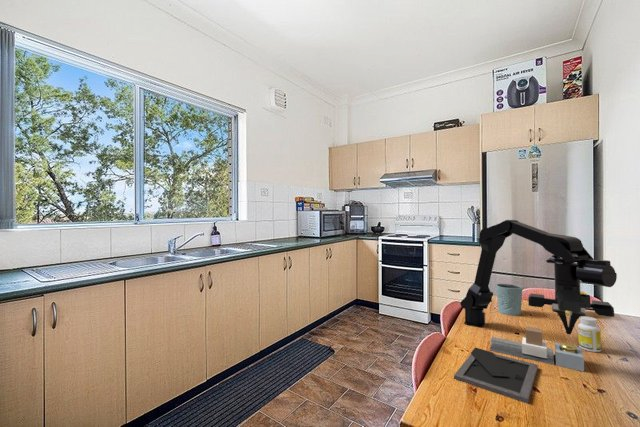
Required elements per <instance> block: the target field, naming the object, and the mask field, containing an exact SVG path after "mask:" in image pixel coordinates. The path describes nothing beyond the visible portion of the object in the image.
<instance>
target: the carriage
mask: <svg viewBox="0 0 640 427" xmlns="http://www.w3.org/2000/svg"><path fill="white" fill-rule="evenodd" d="M521 340H522V341H521V343H522V353H524V354H528V355H533V356H538V357H542V358H547V348H548V346H547V341H546V340H545V341H544V340H543V328H539V327H532V326H526V327H525V336H522V339H521Z"/></svg>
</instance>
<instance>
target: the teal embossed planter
mask: <svg viewBox="0 0 640 427" xmlns="http://www.w3.org/2000/svg"><path fill="white" fill-rule="evenodd" d="M495 288H496V298H497V309H498V312H499V313H500V314H502V315H505V314H506V316H512V317H516V316H518V315H519V316H521V315H522V304H523V303H522V302H523V299H522V298H523V290H524V288H523V286H521V285H518V284H511V283H510V284H509V283H496V284H495Z"/></svg>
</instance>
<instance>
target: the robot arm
mask: <svg viewBox="0 0 640 427" xmlns="http://www.w3.org/2000/svg"><path fill="white" fill-rule="evenodd" d="M513 234H514V235H516V236H518V237H520V238H523V239H526V240H529V241H530V242H534V243H535V244H537V245H539V246H542V247H543V249H544V250H545V251H547V252H548V253H550V254H551V255H552V256H550V258H548V259H546V260H545V262H546V263H548V264H554V265H553V267H554V268H553V269H554V270H553V271H554V273H553V275H554V298H548V297H545V295H544V294H539V293H529V294H528V298H527V299H528V306H529V307H537V308H543V307H544V306H545V305H548V306H551V310H552V311H551V312H553V313H557V315H558V317H559V318H560V320H561V321H562V324H563V327H564V330H565V333H566V334H567V335H572V333H573V330H574V328H575V326H576V323H577V321H578V320H579V318H580V317H582V316H586V317H587V314H586V312H585V311H593V312H594V313H595V314H596V315H598V316H602V317H610V318H615V309H614V308H615V307H614V306H613V305H612V304H611V303H610V302H608V301H602V300H601V301H599V300H591V295H590V294H587V293H586V294H587V295H586V294H580V291H581V283H583V284H588V285H593V286H600V287H606V288H612V287H613V286H614V285H615V284H616V282H617V278H618V275H617V272H616V270H615V268H614V267H613V266H612V265H611V261H610V260H605V259H603V260H598V259H594V258H593V256H592V255H591V254H590V253H589V252H588V251H587V249H586V248H585V247H584V244H583V243H582V240H581V239H580V238H578V237H576V236H570V235H565V234H558V233H552V232H549V231H545V230H542V229H539V228H536V227H534V226H531V225H530V224H529V225H528V224H526V223H523V222H520V221H519V220H516V219H506V220H503V221H502V222H500V223H497V224H494V225H491V226H489V227H484V228H482V229H480V232H479V236H478V237H479V240H478V243H479V245H480V248H481V251H480V255H479V259H478V260H479V261H478V264H477V269H476V274H475V278H474V283H472V284H471V286H469V288H468V290H467V292H466V294H465V297H464V298H463V299H462V300H461V301H460V306H461V308H462V309H464V322H463V324H464V325H468V326H473V327H478V328H483V327H484V326H485V324H486V312H484V311H485V310H486V309H488V306H489V305H490V303H492V302H493V301H492V300H493V296H494V292H493V291H491V290H490V287H489V285H490V280H491V277H492V273H493V270H494V269H493V268H494V263H495V260H496V255H497V252H498V251H499V250H500V249H501V248H502V247H503V245H504V242H505V241H506V239H507V238H508V237H511V236H512V235H513ZM565 311H570V315H569V318H568V319H569V320H567V314H566V313H565Z"/></svg>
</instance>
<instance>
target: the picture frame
mask: <svg viewBox="0 0 640 427" xmlns="http://www.w3.org/2000/svg"><path fill="white" fill-rule="evenodd" d="M538 366H539V365H538V364H536V363H532V362H530V361H529V362H528V361H524V360H520V359H517V358H513V357H509V356H506V355H505V356H504V355H500V354H498V353H497V354H496V353H494V351H491V350H486V349H482V348H479V347H474V348H473V349H472V351H471V352H470V354H469V356H468V357H467V358H466V359H465V361H464V362H463V363H462V364H461V366H460V367H459V369H457V371H456V372H455V373H454V375H453V380H455V379H456V380H455V381H458V382H461V381H462V382H461V383H464V382H466V383H465V384H467V383H468V384H467V385H470V384H471V386H473V385H474V387H476V388H480V389H483V390H484V391H485V390H486V391H489V392H491V393H495V394H496V395H497V394H498V395H500V396H504V397H506V398H510V399H513V400H516V401H518V402H521V403H525V404H529V401H530V398H531V396H532V394H531V393H532V391H533V387H534V384H535V380H536V376H537V373H538V370H539V367H538Z"/></svg>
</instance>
